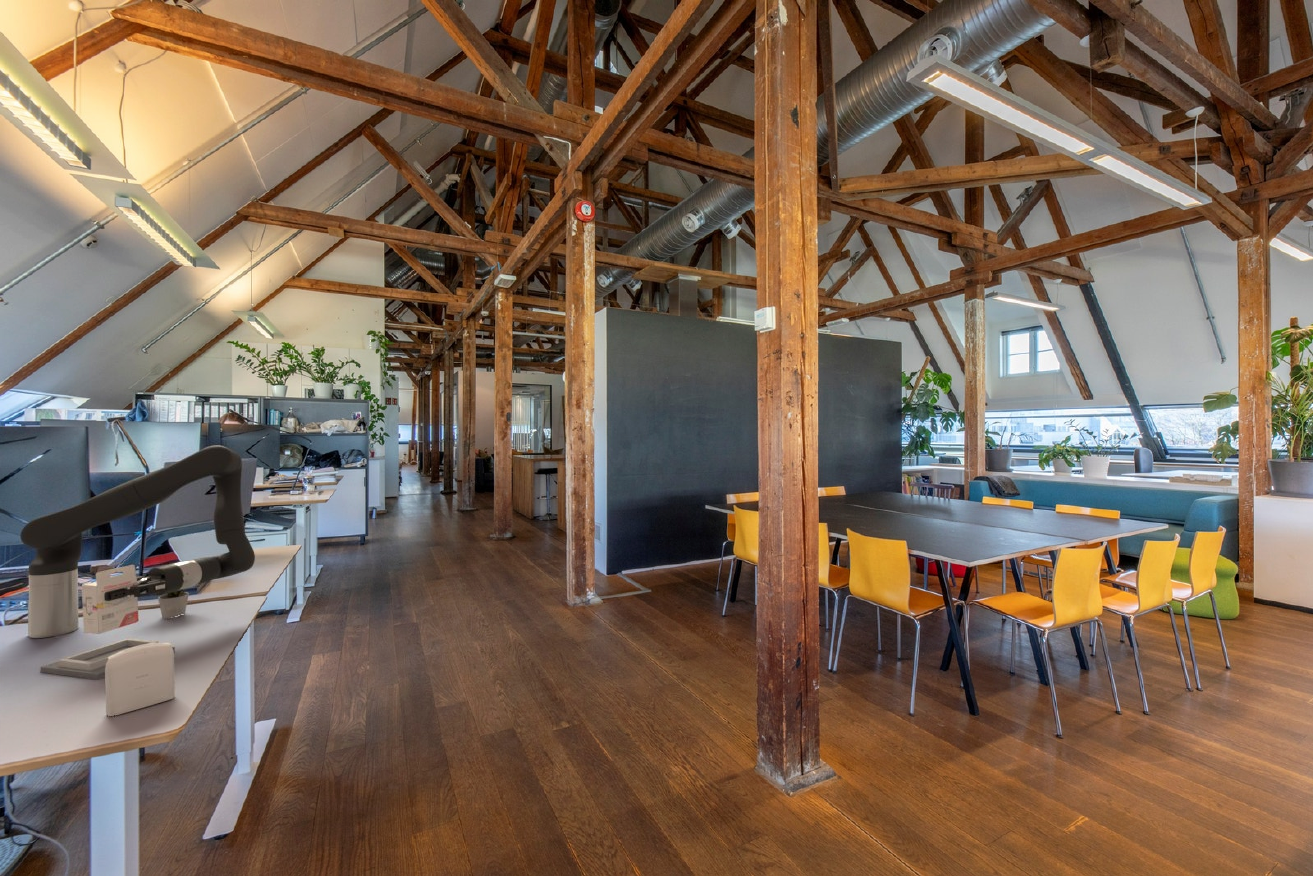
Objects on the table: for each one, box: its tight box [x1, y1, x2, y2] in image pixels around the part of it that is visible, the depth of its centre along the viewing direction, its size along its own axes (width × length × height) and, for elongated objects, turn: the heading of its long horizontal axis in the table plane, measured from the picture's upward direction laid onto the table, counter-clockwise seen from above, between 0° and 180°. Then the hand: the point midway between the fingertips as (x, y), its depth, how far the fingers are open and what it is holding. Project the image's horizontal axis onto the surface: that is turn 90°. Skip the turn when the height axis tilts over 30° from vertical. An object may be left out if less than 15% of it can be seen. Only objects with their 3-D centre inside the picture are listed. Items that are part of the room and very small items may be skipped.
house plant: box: [141, 564, 190, 619], centre depth 165 cm, size 14×14×16 cm
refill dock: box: [40, 637, 176, 680], centre depth 132 cm, size 18×16×3 cm
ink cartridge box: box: [81, 564, 139, 635], centre depth 132 cm, size 9×5×15 cm, turn 168°
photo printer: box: [104, 642, 176, 717], centre depth 110 cm, size 10×4×12 cm, turn 140°
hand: (97, 596), depth 129 cm, fingers closed on ink cartridge box, 5 cm apart
